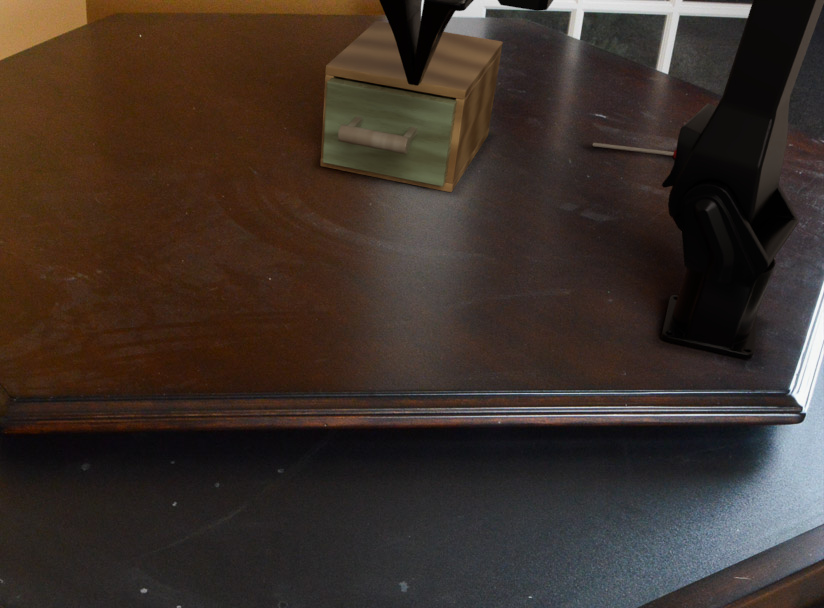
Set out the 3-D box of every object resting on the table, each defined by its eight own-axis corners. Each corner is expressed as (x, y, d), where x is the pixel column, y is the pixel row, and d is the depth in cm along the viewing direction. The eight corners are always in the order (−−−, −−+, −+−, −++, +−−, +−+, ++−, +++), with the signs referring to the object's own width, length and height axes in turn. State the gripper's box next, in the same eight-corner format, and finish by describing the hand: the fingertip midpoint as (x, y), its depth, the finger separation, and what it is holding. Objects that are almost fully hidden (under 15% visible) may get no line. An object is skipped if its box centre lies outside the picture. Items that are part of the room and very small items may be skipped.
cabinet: (451, 192, 95) (465, 90, 89) (320, 166, 98) (325, 65, 92) (488, 136, 105) (503, 41, 99) (368, 113, 108) (376, 20, 102)
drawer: (430, 206, 90) (440, 122, 86) (305, 180, 93) (309, 97, 88) (478, 134, 103) (489, 57, 98) (367, 113, 106) (374, 37, 101)
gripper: (596, -153, 75) (553, 72, 85) (348, -183, 79) (335, 34, 89) (570, -126, 67) (525, 118, 77) (294, -162, 71) (287, 75, 81)
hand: (414, 83), depth 81 cm, fingers closed
